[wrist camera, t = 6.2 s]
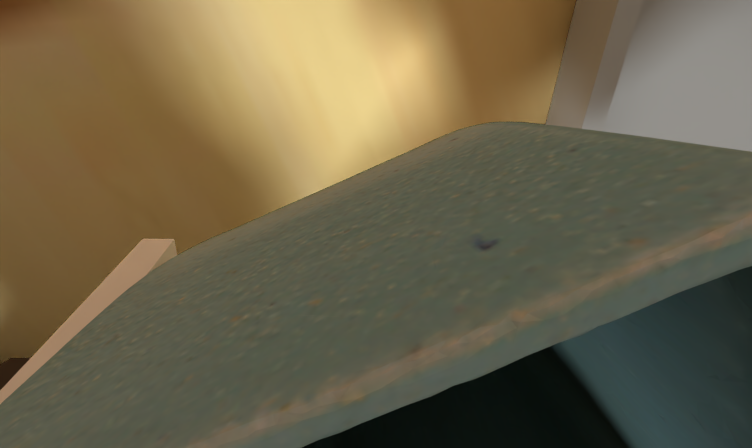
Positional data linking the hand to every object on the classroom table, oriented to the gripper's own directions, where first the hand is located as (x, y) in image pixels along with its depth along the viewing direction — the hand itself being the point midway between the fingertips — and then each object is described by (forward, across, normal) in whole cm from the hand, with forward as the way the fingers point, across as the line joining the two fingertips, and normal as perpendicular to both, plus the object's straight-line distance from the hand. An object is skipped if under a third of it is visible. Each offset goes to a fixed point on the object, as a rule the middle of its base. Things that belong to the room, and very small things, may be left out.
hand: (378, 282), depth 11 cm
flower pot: (+2, 0, 0) cm, 2 cm away
